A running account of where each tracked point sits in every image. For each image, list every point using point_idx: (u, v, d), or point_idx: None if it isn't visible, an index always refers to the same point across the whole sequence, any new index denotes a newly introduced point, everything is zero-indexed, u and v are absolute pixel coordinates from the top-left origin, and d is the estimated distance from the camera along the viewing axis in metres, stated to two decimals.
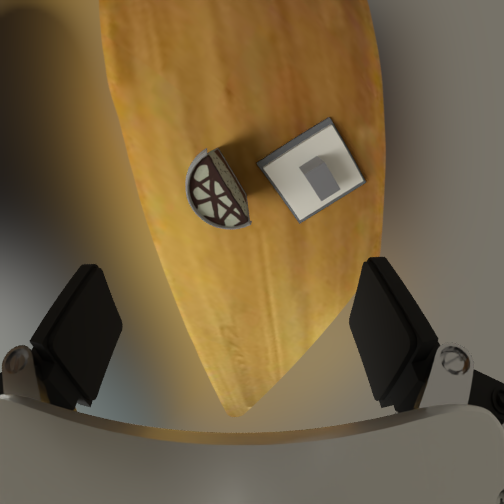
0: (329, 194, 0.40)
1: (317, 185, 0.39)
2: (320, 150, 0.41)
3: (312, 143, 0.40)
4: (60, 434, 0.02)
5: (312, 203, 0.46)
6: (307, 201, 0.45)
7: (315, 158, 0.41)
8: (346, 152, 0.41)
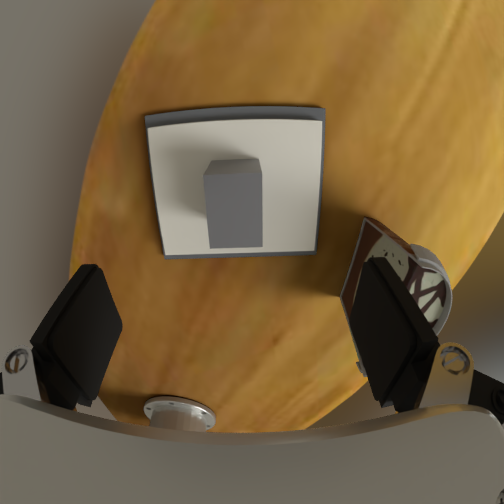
0: (235, 178, 0.16)
1: (250, 212, 0.17)
2: (205, 226, 0.23)
3: None
4: (60, 434, 0.02)
5: (277, 138, 0.19)
6: (284, 148, 0.20)
7: None
8: (159, 200, 0.21)
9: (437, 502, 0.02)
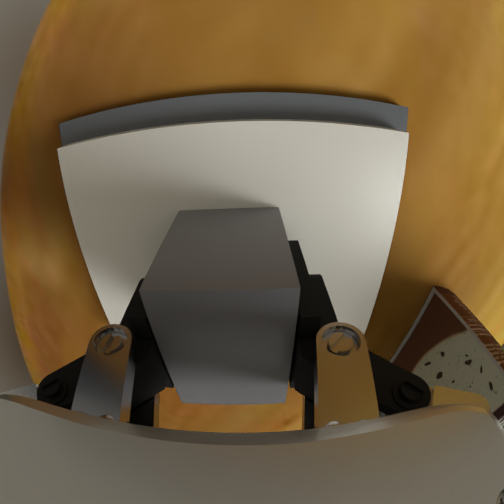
0: (224, 300, 0.06)
1: (264, 361, 0.07)
2: None
3: None
4: (60, 434, 0.02)
5: (320, 164, 0.09)
6: (333, 186, 0.09)
7: None
8: (96, 277, 0.11)
9: (437, 502, 0.02)
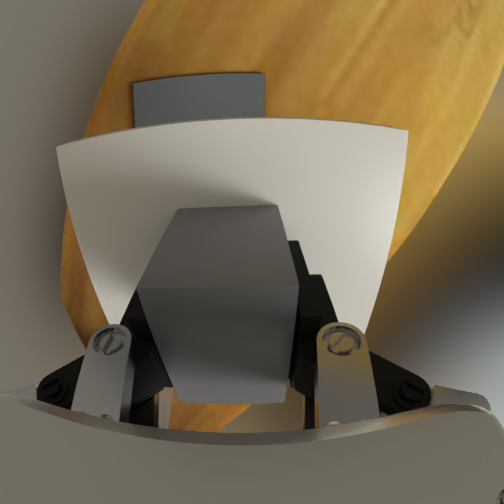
0: (221, 297, 0.06)
1: (263, 359, 0.07)
2: None
3: None
4: (60, 434, 0.02)
5: (319, 161, 0.09)
6: (333, 184, 0.09)
7: None
8: (95, 276, 0.11)
9: (437, 502, 0.02)
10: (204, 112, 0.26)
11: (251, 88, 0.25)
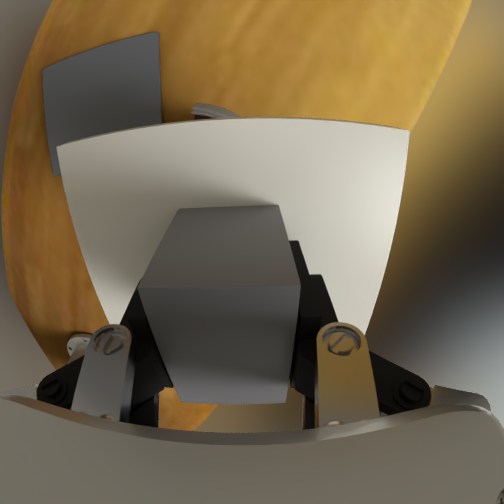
0: (223, 297, 0.06)
1: (264, 360, 0.07)
2: None
3: None
4: (60, 434, 0.02)
5: (320, 161, 0.09)
6: (334, 184, 0.09)
7: None
8: (95, 276, 0.11)
9: (437, 502, 0.02)
10: (100, 83, 0.20)
11: (144, 49, 0.19)
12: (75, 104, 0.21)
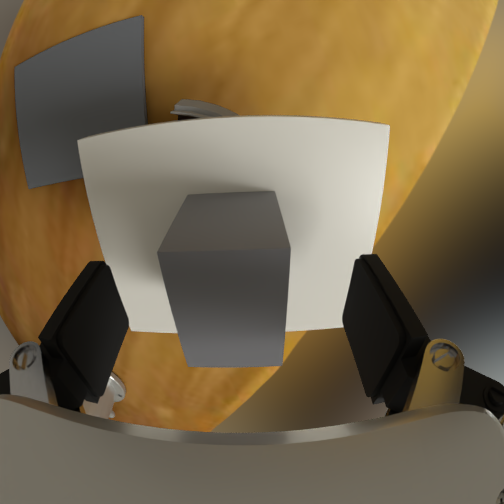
0: (228, 259, 0.07)
1: (262, 319, 0.08)
2: None
3: None
4: (60, 434, 0.02)
5: (310, 153, 0.10)
6: (322, 173, 0.11)
7: None
8: (109, 258, 0.12)
9: (437, 502, 0.02)
10: (75, 80, 0.16)
11: (125, 37, 0.15)
12: (48, 105, 0.17)
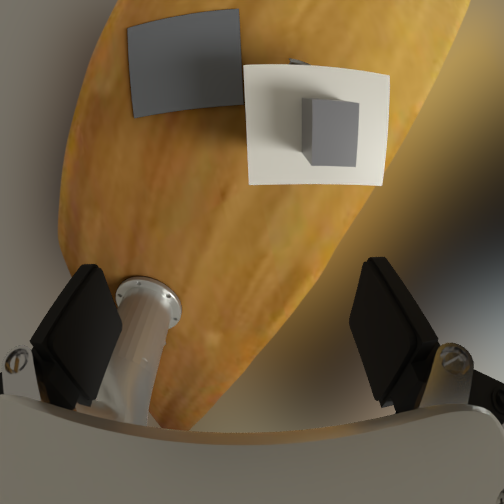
0: (338, 104, 0.17)
1: (348, 134, 0.18)
2: (291, 156, 0.24)
3: (296, 174, 0.25)
4: (60, 434, 0.02)
5: (356, 84, 0.20)
6: (361, 93, 0.20)
7: None
8: (250, 130, 0.22)
9: (437, 502, 0.02)
10: (188, 43, 0.25)
11: (228, 21, 0.24)
12: (163, 58, 0.26)
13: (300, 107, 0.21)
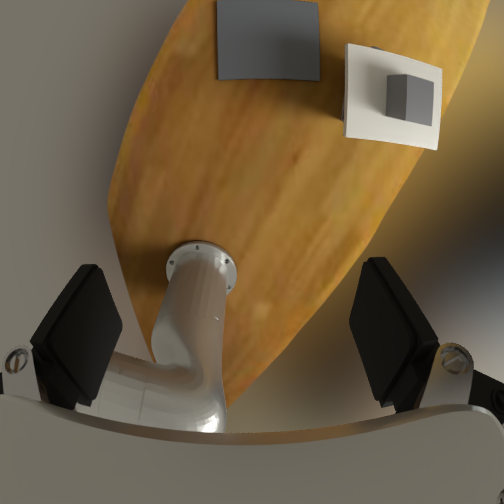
0: (422, 80, 0.20)
1: (427, 102, 0.21)
2: (378, 118, 0.26)
3: (381, 133, 0.27)
4: (60, 434, 0.02)
5: (421, 72, 0.23)
6: (424, 79, 0.23)
7: None
8: (350, 92, 0.25)
9: (437, 502, 0.02)
10: (274, 23, 0.28)
11: (309, 11, 0.27)
12: (251, 31, 0.29)
13: (386, 82, 0.24)
